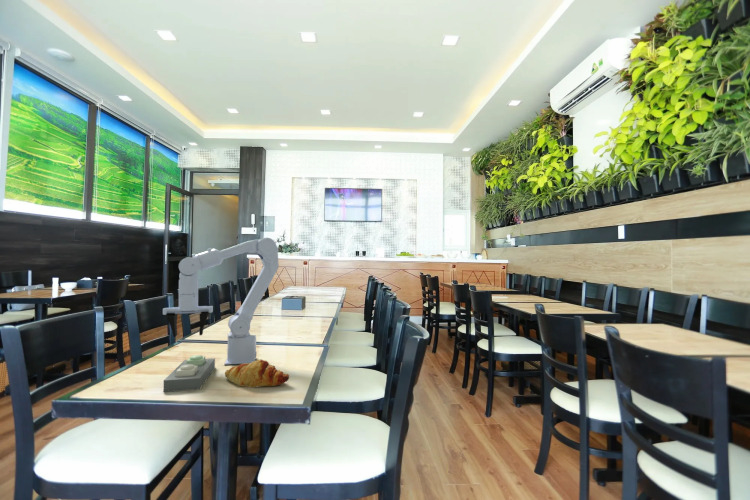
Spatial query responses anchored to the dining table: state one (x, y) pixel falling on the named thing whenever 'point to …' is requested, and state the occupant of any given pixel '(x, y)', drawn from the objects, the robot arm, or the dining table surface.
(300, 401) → the dining table surface
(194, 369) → the button
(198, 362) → the button
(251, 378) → the croissant
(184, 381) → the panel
